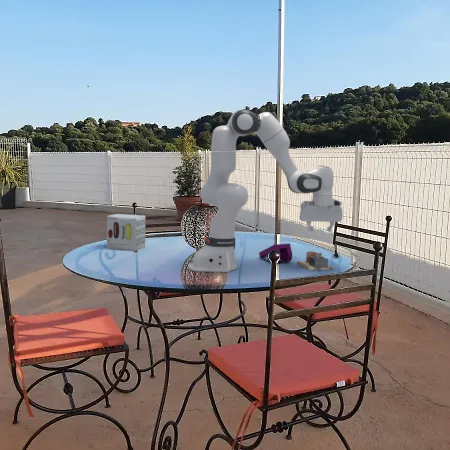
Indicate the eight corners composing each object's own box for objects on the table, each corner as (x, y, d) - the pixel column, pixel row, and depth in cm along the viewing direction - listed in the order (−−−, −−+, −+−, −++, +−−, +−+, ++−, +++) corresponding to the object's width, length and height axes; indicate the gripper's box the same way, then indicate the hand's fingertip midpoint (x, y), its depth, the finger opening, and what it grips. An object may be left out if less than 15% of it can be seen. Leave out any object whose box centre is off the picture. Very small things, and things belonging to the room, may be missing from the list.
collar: (314, 267, 210) (315, 259, 209) (308, 264, 216) (309, 256, 216) (327, 267, 212) (328, 258, 211) (321, 264, 218) (321, 256, 217)
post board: (308, 270, 210) (309, 254, 209) (296, 263, 223) (297, 249, 222) (332, 269, 213) (333, 254, 212) (319, 263, 226) (320, 248, 225)
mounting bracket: (258, 270, 234) (277, 261, 218) (255, 254, 236) (274, 244, 221) (274, 268, 238) (293, 260, 223) (270, 253, 240) (289, 243, 225)
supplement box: (106, 249, 246) (105, 215, 243) (117, 245, 258) (117, 213, 256) (135, 251, 242) (136, 217, 239) (145, 247, 254) (146, 215, 252)
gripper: (303, 201, 204) (301, 231, 206) (345, 202, 209) (342, 232, 211) (298, 200, 211) (296, 230, 212) (338, 201, 216) (336, 230, 217)
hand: (319, 231), depth 212 cm, fingers open, 8 cm apart
